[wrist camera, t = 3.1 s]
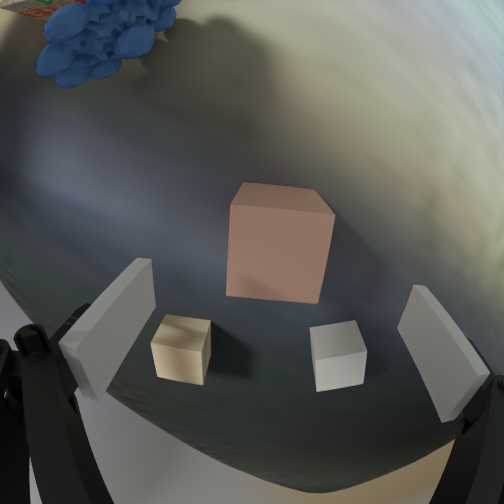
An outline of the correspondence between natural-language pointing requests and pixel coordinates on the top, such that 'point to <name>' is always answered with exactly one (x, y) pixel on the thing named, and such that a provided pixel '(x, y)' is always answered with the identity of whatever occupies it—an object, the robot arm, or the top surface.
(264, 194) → the terracotta block
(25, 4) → the stack of blocks
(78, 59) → the grapes
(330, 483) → the top surface
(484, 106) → the top surface
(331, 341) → the off-white plastic block
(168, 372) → the maple block
